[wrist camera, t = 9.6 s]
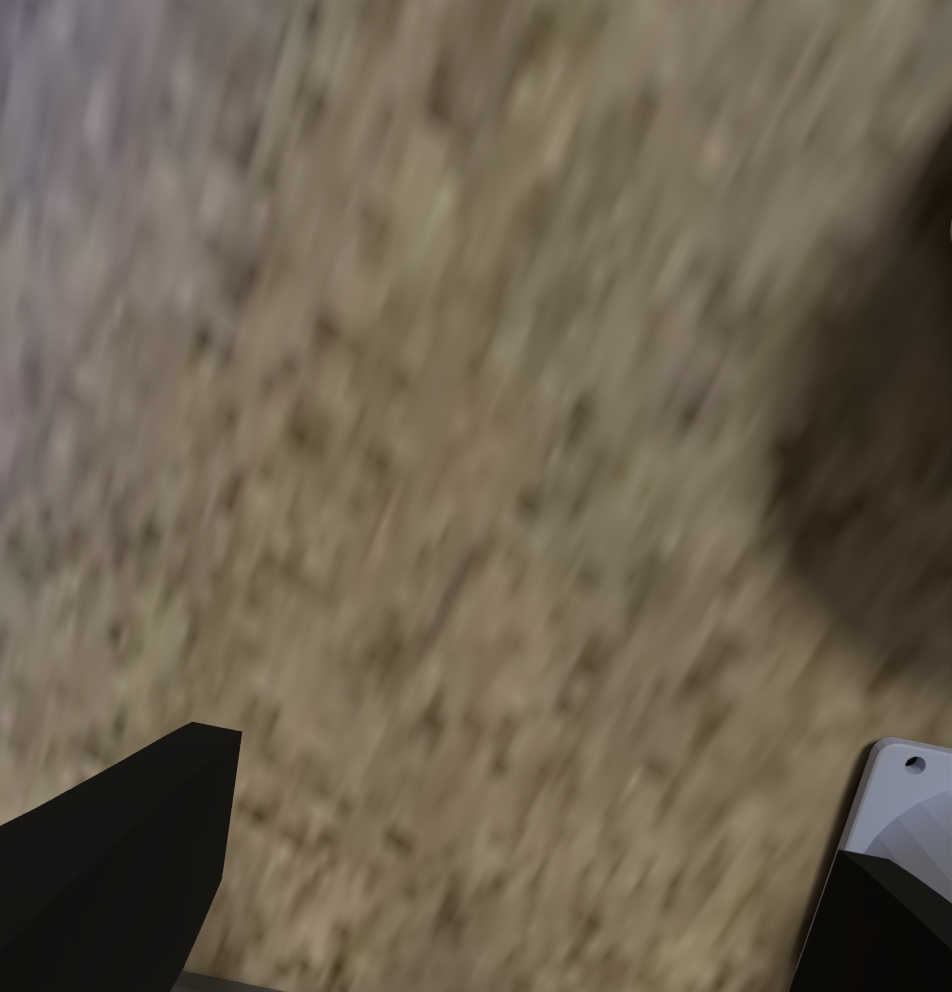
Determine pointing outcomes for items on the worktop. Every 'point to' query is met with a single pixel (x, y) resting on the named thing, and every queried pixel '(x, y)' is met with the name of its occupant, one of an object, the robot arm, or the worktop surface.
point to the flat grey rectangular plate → (211, 985)
